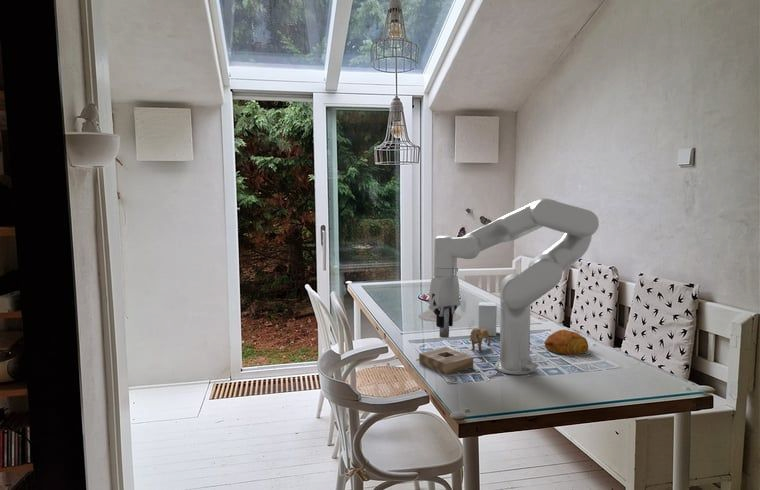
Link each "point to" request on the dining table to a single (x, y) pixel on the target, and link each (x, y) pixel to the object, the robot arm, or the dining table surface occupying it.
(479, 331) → the lion figurine
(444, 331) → the key peg
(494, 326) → the supplement box
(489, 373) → the dining table surface
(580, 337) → the croissant
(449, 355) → the block
